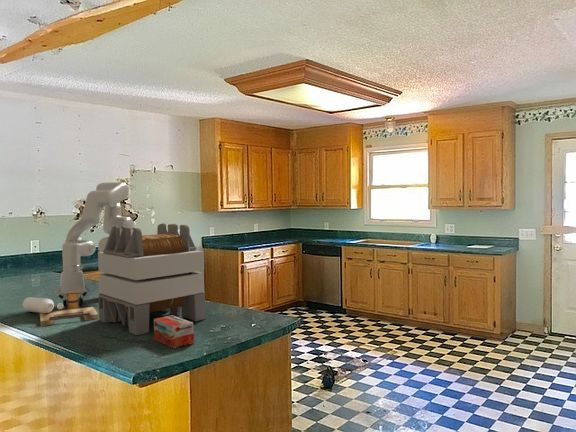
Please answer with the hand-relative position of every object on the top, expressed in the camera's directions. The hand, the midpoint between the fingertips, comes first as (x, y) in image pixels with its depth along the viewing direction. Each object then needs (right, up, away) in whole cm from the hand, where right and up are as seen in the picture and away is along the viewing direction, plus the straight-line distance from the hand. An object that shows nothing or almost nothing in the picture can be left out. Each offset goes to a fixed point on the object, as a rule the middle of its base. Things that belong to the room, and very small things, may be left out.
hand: (73, 306), depth 223 cm
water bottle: (-19, +1, 0) cm, 19 cm away
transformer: (+42, -2, -19) cm, 46 cm away
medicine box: (+59, -3, -50) cm, 77 cm away
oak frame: (+5, -2, -15) cm, 15 cm away
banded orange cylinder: (0, -2, 0) cm, 2 cm away
